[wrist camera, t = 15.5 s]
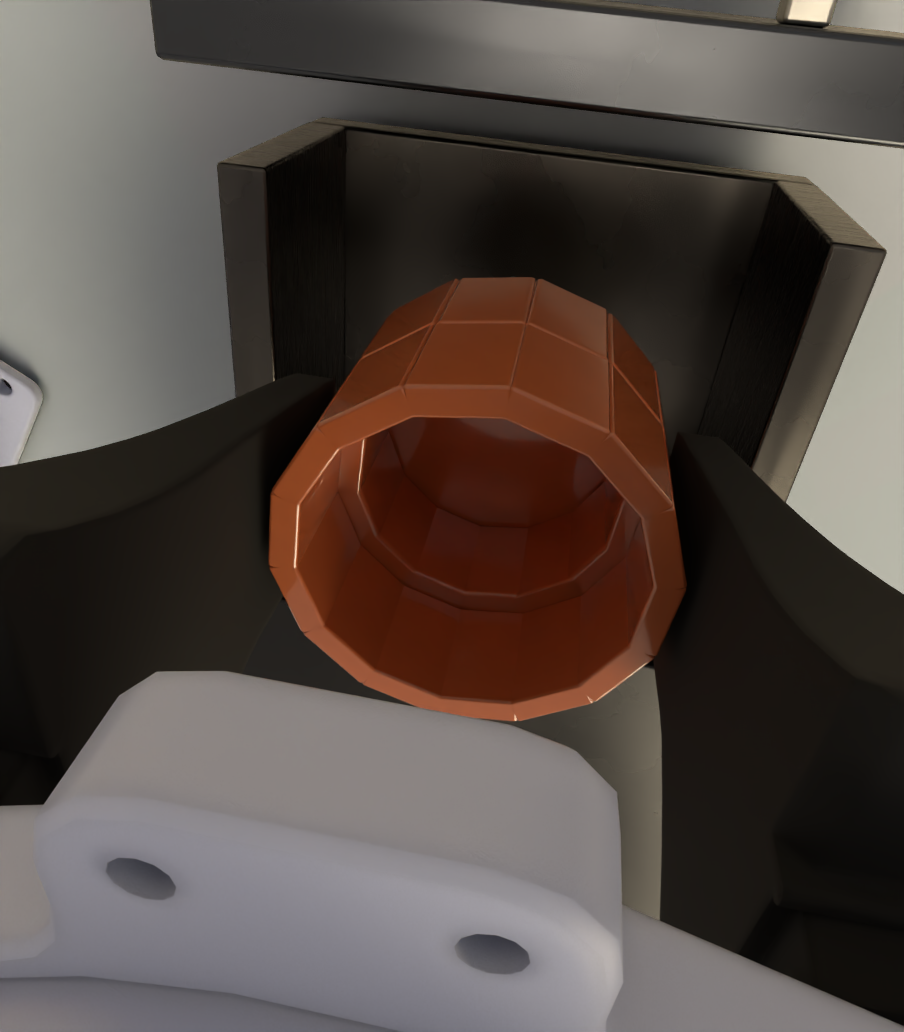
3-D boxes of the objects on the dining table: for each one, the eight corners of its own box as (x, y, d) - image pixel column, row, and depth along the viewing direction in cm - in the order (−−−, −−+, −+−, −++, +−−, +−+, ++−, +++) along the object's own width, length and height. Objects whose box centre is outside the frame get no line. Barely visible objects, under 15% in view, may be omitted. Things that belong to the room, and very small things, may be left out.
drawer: (275, -483, 12) (54, -800, 7) (1058, -438, 11) (1410, -769, 6) (303, 513, 22) (223, 653, 18) (699, 580, 21) (726, 746, 17)
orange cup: (304, 437, 14) (202, 589, 11) (473, 190, 11) (411, 283, 8) (528, 587, 15) (504, 771, 12) (733, 397, 12) (785, 564, 9)
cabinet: (290, 411, 22) (164, 580, 15) (747, 482, 21) (808, 695, 14) (302, 738, 30) (222, 936, 23) (630, 802, 29) (638, 1026, 22)
